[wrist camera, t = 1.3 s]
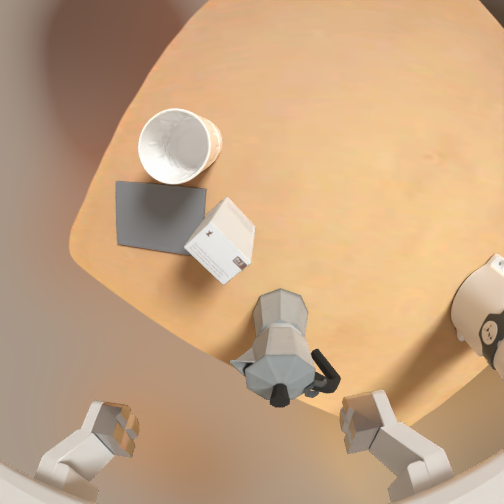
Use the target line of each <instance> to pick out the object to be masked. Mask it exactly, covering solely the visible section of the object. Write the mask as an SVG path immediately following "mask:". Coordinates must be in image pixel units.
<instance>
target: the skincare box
mask: <svg viewBox="0 0 504 504" xmlns="http://www.w3.org/2000/svg"><path fill="white" fill-rule="evenodd" d="M255 228H256V227H255V225H254V224H253V223H252V222H251V221H250V220H249V219H248V218H247V217H246V216H245V215H244V214H243V213H242V212H241V210H240V209H239V208H238V207H237V206H236V205H235V204H234V203H233V202H232V201H231V200H230V199H229V198H228V197H227V196H226V197H225V198H224V199H223V200H222V201H221V202H219V203H218V204H217V205H216V206H215V207H214V208H213V209H212V210H211V211H210V212H209V213H208V214H207V215H206V217H205V218H204V219H203V221H202V222H201V223H200V225H199V226H198V227H197V229H196V230H195V231H194V233H193V234H192V236H191V237H190V238H189V240H188V241H187V242H186V244H185V245H184V248H185V249H186V250H187V251H188V252H189V253H190V254H191V255H192V256H193V257H194V258H195V259H196V260H197V261H198V262H199V263H200V264H202V265H203V266H204V267H205V268H206V269H207V270H208V271H209V272H210V273H211V274H212V275H213V276H214V277H215V278H216V279H217V280H218V281H219V282H220V283H222V285H225V284H226V283H227V282H229V281H230V280H231V279H232V278H234V277H235V276H236V275H237V274H238V273H240V272H241V271H242V270H244V269H245V268H246V267H247V266H249V265H250V264H251V260H252V251H253V243H254V235H255Z"/></svg>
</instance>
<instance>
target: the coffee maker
mask: <svg viewBox="0 0 504 504" xmlns="http://www.w3.org/2000/svg"><path fill="white" fill-rule="evenodd" d="M253 317H254V325H255V332H256V338H255V341H254V343H253V345H252V347H251V348H250V349H249V350H248V351H246V352H245V353H244V354H243V355H241V356H240V357H239V358H238V359H236V360H230V361H229V362H230V363H231V364H232V365H233V366H234V367H235V368H236V369H237V370H238V371H240V372H241V373H242V374H243V375H244V376H245V377H246V384H247V388H248V389H249V390H251V391H253V392H254V393H256V394H258V395H259V396H261V397H263V398H264V399H266V400H270V405H272V406H274V407H285V406H287V405H289V404H290V400H293V399H295V398H297V397H298V396H300V395H302V394H303V393H305V396H306V397H311V398H313V397H315V396H317V395H318V394H319V392H323V393H333V392H334V391H335V390H336V389H337V387H338V385H339V383H340V380H341V378H340V376H339V375H338V373H337V372H336V371H335V370H334V368H333V367H332V366H331V364H330V363H329V362H328V361H327V359H326V358H325V357H324V356H323V354H322V353H321V352H320V351H319V349H315V350H313V351H312V353H310V350H309V347H308V344H307V341H306V338H305V332H306V324H307V317H308V310H307V308H306V306H305V304H304V301H303V299H302V297H301V295H298V294H295V293H292V292H289V291H286V290H284V289H281V288H280V289H278V290H275V291H272V292H269V293H267V294H264V295H261V296H260V298H259V300H258V302H257V304H256V306H255V309H254V311H253ZM312 359H313V360H314V361H315V363H316V364H317V365H318V367H319V368H320V370H321V371H322V372H323V374H324V375H325V376H326V377H325V376H323V375H321V374H319V373H317V372H315V366H314V363H313V360H312ZM310 389H312V390H315V391H310Z"/></svg>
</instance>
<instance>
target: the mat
mask: <svg viewBox="0 0 504 504" xmlns="http://www.w3.org/2000/svg"><path fill="white" fill-rule="evenodd" d="M205 201H206V189H203V188H193V187H184V186H173V185H163V184H151V183H138V182H125V181H116V225H117V244H121V245H127V246H133V247H139V248H145V249H152V250H158V251H164V252H171V253H177V254H184V255H190V256H192V255H191V254H190V253H189V252H188V251H187V250H186V249H185V248H184V245H185V244H186V242H187V241H188V240H189V238H190V237H191V236H192V234H193V233H194V231H195V230H196V229H197V227H198V226H199V225H200V223H201V222H202V221H203V219H204V214H205Z"/></svg>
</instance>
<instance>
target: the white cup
mask: <svg viewBox="0 0 504 504" xmlns="http://www.w3.org/2000/svg"><path fill="white" fill-rule="evenodd" d="M222 142H223V139H222V136H221V134H220V131H219V129H218V128H217V127H216V126H215V125H214V124H213V123H212V122H211V121H209V120H207V119H205V118H203V117H201V116H199V115H197V114H194V113H192V112H189V111H187V110H183V109H168V110H165V111H162V112H160V113H158V114H156V115H155V116H153V117H152V118H151V119H150V120H149V121H148V122H147V123H146V125H145V126H144V128H143V130H142V132H141V134H140V137H139V142H138V153H139V158H140V161H141V164H142V166H143V167H144V169H145V170H146V172H147V173H148V174H149V175H150V176H151V177H153V178H154V179H155V180H157V181H159V182H162V183H165V184H181V183H184V182H187V181H189V180H191V179H193V178H194V177H196V176H197V175H198V174H200V173H201V172H202V171H204V170H205V169H206V168H208V167H209V166H210V165H211V164H212V163H213V162H214V161H215V160H216V159H217V157H218V156H219V154H220V152H221V151H222Z"/></svg>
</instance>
